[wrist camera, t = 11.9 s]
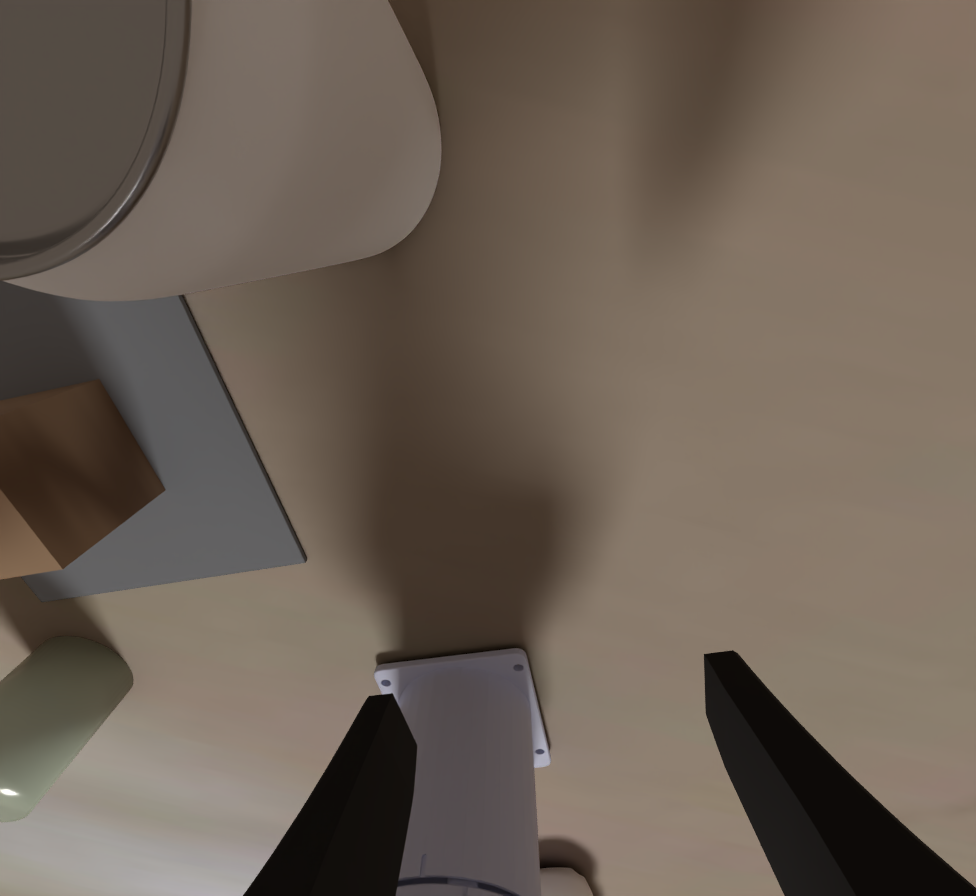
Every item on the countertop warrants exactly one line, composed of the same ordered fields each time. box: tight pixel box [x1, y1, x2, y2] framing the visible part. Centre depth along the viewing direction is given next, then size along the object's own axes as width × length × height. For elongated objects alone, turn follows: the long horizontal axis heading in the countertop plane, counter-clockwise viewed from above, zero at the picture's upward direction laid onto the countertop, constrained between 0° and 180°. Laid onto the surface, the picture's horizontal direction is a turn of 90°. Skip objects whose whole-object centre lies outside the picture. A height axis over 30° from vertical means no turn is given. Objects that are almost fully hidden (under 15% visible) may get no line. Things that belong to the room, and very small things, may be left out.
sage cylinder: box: [0, 636, 133, 822], centre depth 22 cm, size 5×5×6 cm
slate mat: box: [0, 281, 307, 602], centre depth 19 cm, size 14×14×1 cm
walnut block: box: [0, 379, 165, 579], centre depth 16 cm, size 5×5×5 cm
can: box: [0, 0, 441, 301], centre depth 8 cm, size 6×6×12 cm
